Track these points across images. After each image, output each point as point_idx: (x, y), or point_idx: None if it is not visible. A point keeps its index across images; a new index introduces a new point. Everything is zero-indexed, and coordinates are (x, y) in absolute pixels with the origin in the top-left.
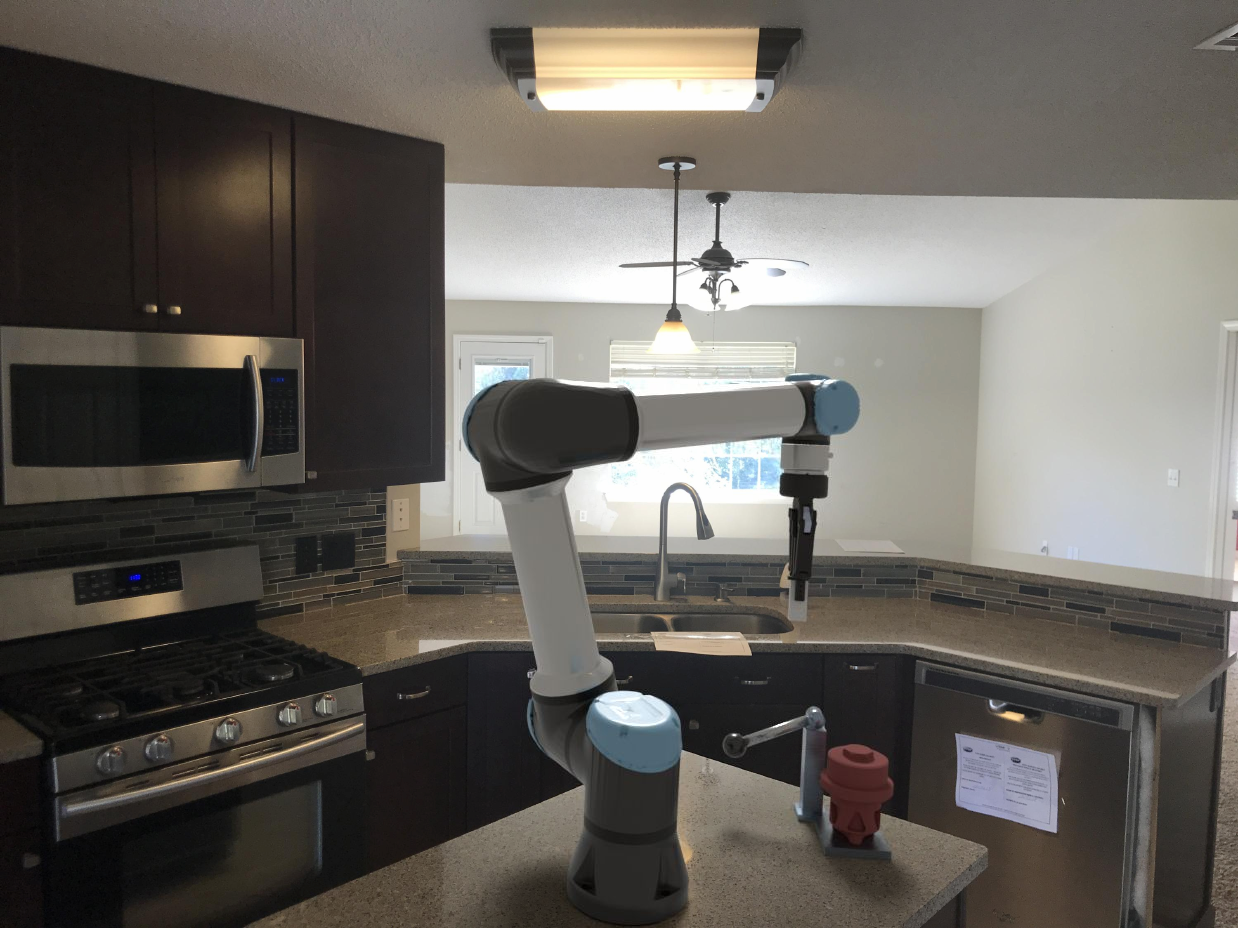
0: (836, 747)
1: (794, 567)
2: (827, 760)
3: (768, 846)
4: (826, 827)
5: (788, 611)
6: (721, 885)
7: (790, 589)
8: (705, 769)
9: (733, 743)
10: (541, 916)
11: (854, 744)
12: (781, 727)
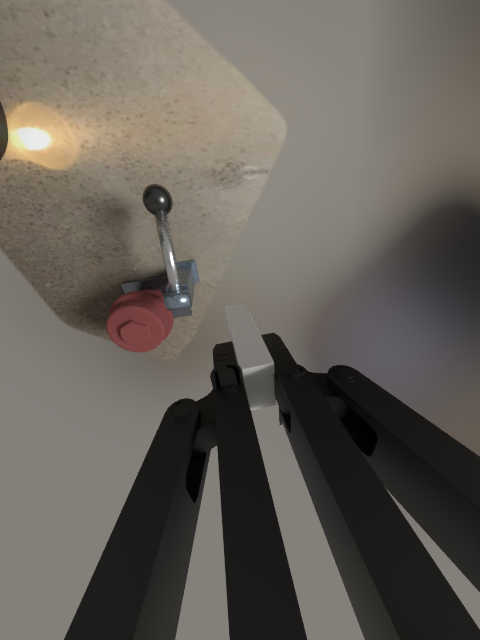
0: (149, 313)
1: (217, 428)
2: (131, 303)
3: (114, 240)
4: (154, 285)
5: (244, 311)
6: (20, 203)
7: (239, 346)
8: (250, 169)
9: (143, 199)
10: None
11: (145, 331)
12: (164, 260)
